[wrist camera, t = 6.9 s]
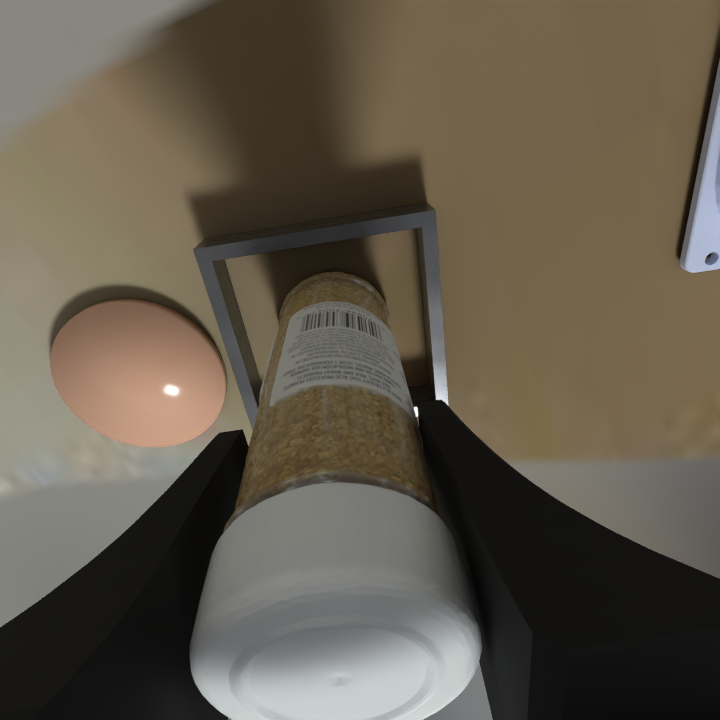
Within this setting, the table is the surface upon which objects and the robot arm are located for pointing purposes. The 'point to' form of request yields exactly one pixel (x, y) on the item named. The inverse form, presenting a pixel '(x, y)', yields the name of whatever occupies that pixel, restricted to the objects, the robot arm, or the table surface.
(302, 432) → the sprinkles bottle
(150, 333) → the terracotta coaster
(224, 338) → the square socket
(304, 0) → the table surface
